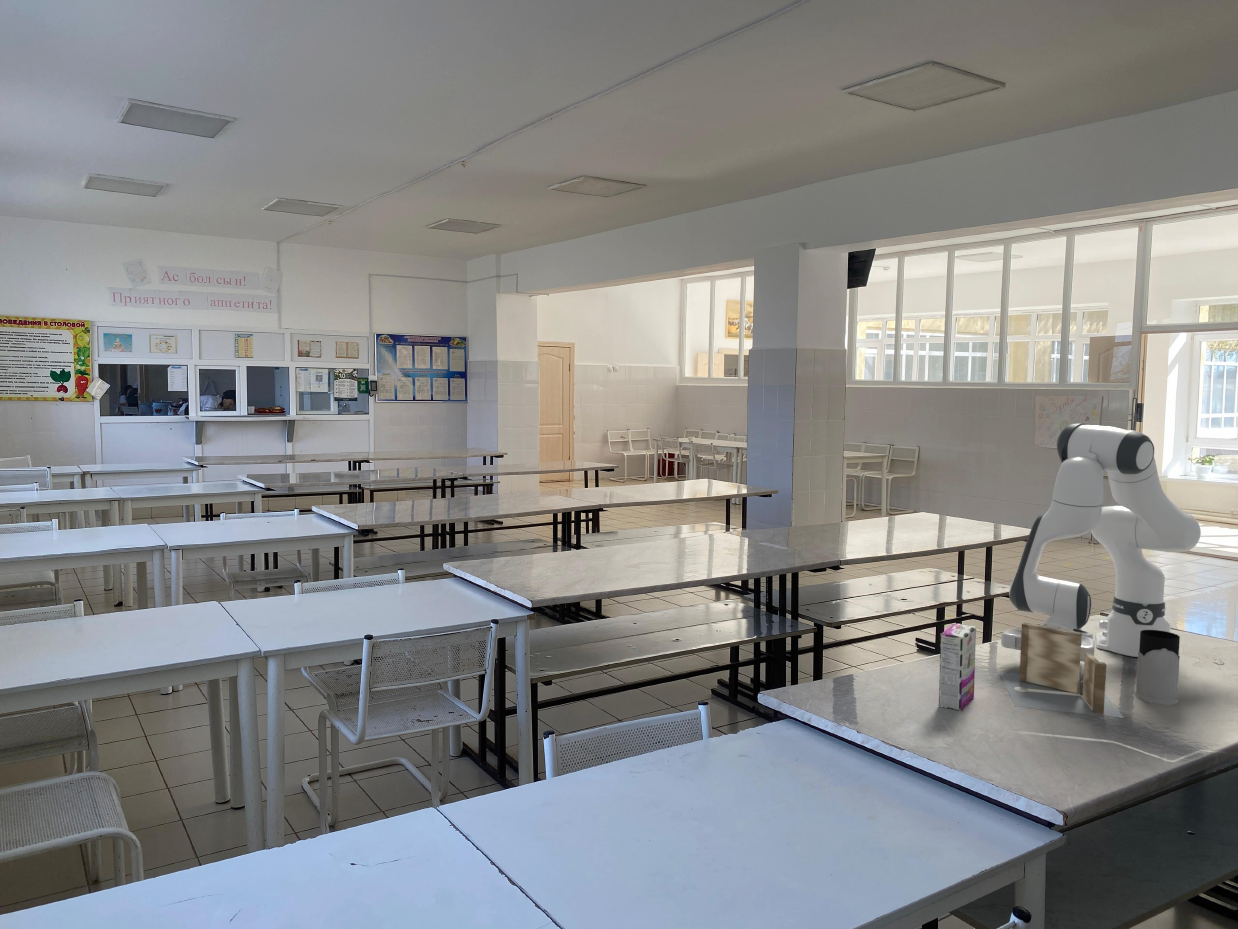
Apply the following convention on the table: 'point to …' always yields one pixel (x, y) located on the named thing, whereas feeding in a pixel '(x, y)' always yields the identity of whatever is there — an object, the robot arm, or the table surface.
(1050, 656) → the brown wooden panel
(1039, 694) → the card
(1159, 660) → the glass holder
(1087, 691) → the bar
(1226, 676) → the table surface
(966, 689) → the candy bar box
